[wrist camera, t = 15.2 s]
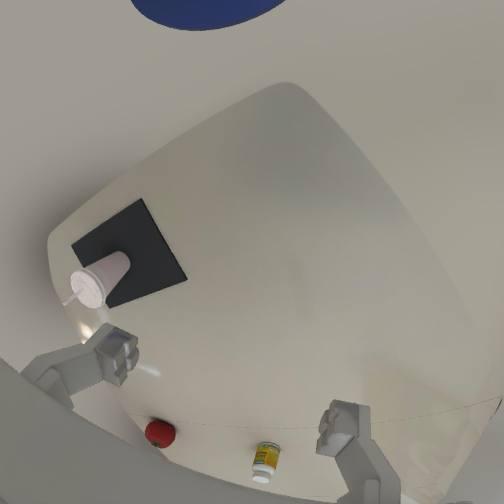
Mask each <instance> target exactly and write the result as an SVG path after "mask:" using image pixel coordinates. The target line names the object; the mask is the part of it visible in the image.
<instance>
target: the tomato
mask: <svg viewBox="0 0 504 504" xmlns="http://www.w3.org/2000/svg"><path fill="white" fill-rule="evenodd" d="M145 436H146V438H147V439H148V441H150V442H151V444H152V445H154V446H155V447H158V448H166V447H168V446H169V445H171V444H172V443H173V441H174V440H175V436H176V435H175V430H174V429H173V427H172V426H170V425H168V424H166V423H164V422H161V421H152V422H150V423H149V424H148V425H147V427H146V430H145Z"/></svg>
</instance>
